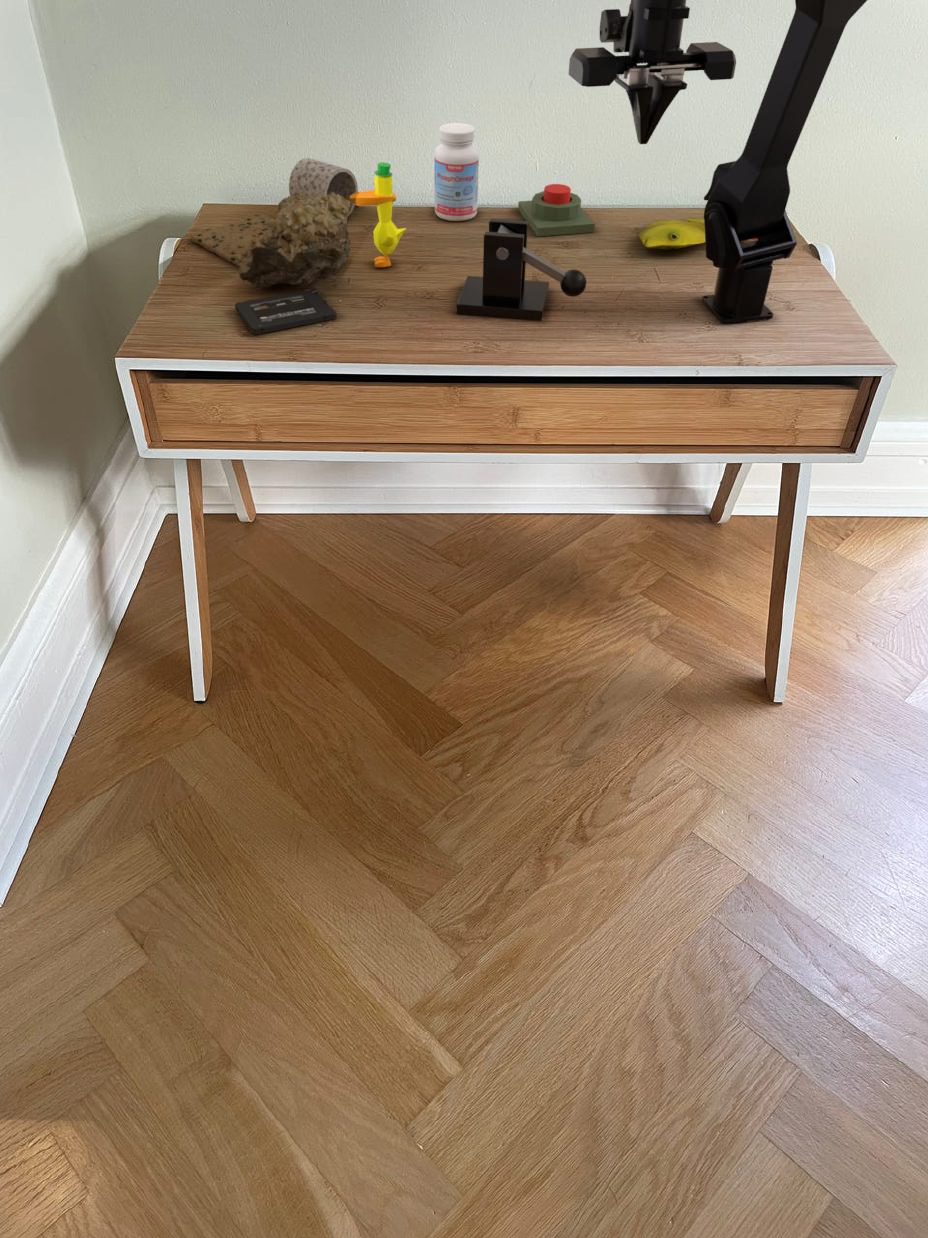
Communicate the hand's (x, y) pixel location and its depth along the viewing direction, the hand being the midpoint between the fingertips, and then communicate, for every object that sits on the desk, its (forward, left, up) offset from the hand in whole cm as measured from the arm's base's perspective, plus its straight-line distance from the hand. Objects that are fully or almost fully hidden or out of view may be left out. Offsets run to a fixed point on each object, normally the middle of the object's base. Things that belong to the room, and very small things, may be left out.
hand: (642, 143), depth 116 cm
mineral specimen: (+1, +42, -12) cm, 44 cm away
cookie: (+12, +48, -14) cm, 51 cm away
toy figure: (+1, +33, -13) cm, 35 cm away
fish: (+4, -3, -12) cm, 13 cm away
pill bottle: (+16, +20, -13) cm, 29 cm away
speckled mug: (+23, +39, -10) cm, 47 cm away
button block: (+11, +7, -13) cm, 18 cm away
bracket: (-13, +20, -13) cm, 27 cm away
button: (+11, +7, -10) cm, 16 cm away
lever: (-14, +17, -9) cm, 24 cm away
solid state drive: (-11, +46, -12) cm, 49 cm away
